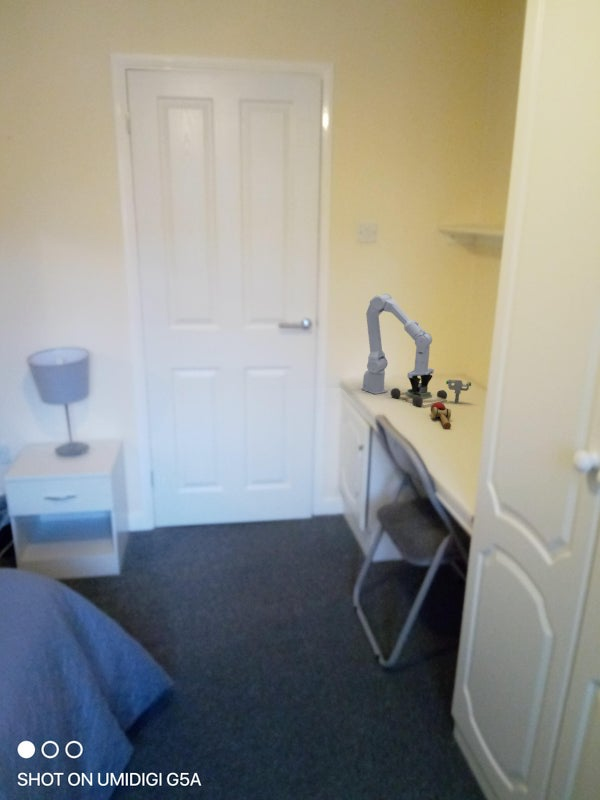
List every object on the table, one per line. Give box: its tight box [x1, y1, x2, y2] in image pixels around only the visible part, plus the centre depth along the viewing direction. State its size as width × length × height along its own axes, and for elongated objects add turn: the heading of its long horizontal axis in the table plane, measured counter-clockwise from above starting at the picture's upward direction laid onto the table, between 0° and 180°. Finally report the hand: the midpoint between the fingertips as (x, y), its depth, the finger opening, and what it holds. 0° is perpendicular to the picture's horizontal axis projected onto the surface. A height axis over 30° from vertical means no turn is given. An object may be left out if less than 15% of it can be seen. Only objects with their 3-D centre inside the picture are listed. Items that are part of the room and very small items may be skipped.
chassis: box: [390, 382, 448, 409], centre depth 262 cm, size 20×17×4 cm
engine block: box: [412, 384, 428, 396], centre depth 261 cm, size 5×4×5 cm
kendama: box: [430, 402, 452, 430], centre depth 235 cm, size 8×6×18 cm
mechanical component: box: [445, 379, 472, 404], centre depth 257 cm, size 3×10×10 cm, turn 78°
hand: (419, 391), depth 262 cm, fingers open, 5 cm apart
